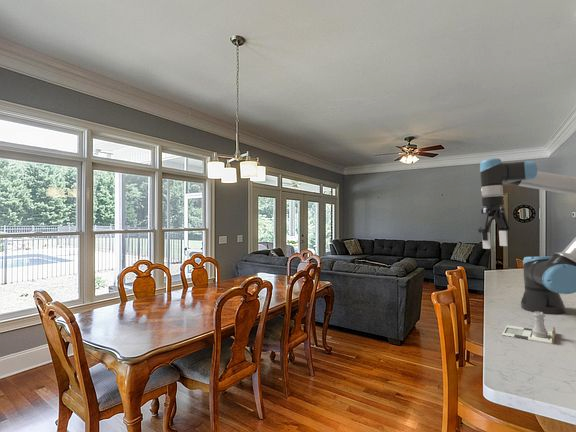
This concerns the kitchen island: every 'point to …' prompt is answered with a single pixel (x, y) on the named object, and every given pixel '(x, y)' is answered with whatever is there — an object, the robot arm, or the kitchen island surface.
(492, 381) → the kitchen island surface
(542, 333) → the rook chess piece
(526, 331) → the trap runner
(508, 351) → the kitchen island surface
